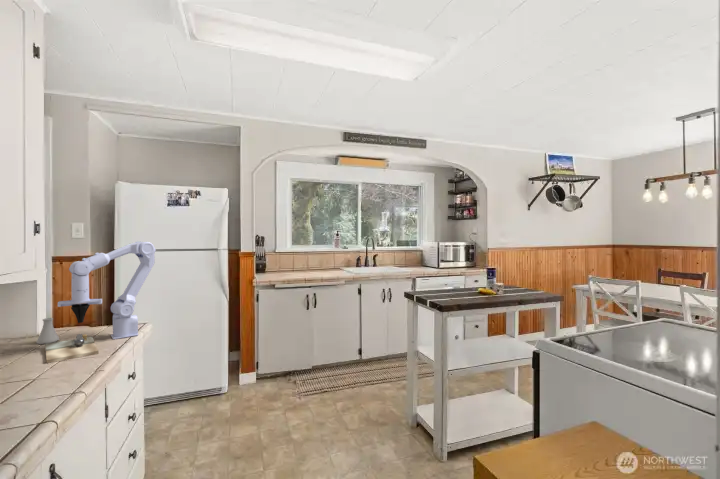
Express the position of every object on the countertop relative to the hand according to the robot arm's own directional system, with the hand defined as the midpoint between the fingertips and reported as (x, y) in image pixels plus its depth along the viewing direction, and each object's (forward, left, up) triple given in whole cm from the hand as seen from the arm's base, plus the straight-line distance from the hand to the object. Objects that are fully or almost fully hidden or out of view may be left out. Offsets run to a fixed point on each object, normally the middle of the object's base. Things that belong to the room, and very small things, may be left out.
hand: (80, 322), depth 146 cm
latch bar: (+1, +3, -7) cm, 8 cm away
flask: (+10, -14, -10) cm, 20 cm away
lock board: (+4, +7, -9) cm, 12 cm away
